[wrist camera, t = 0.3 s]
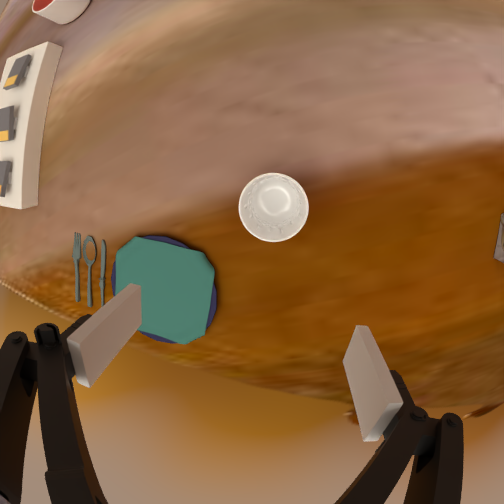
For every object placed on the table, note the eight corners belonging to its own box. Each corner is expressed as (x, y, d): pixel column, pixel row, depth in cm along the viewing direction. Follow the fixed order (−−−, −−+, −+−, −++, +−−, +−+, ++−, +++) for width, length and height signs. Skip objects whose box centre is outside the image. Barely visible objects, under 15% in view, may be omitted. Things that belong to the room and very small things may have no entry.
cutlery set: (210, 350, 50) (207, 357, 48) (78, 305, 51) (72, 309, 49) (229, 247, 44) (226, 251, 42) (77, 212, 46) (70, 214, 43)
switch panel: (20, 62, 36) (4, 58, 30) (63, 47, 35) (46, 40, 30) (0, 199, 46) (-17, 203, 40) (37, 205, 45) (18, 210, 40)
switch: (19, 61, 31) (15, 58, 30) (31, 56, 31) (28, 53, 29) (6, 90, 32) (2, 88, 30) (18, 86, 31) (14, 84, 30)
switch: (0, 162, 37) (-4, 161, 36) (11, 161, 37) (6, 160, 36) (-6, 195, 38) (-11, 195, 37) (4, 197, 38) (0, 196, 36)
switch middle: (2, 108, 33) (-3, 109, 31) (14, 105, 32) (9, 106, 31) (2, 140, 36) (-3, 142, 35) (13, 139, 36) (8, 141, 35)
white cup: (256, 231, 43) (250, 249, 33) (241, 181, 41) (229, 184, 31) (307, 217, 42) (316, 231, 32) (293, 166, 40) (297, 164, 30)
